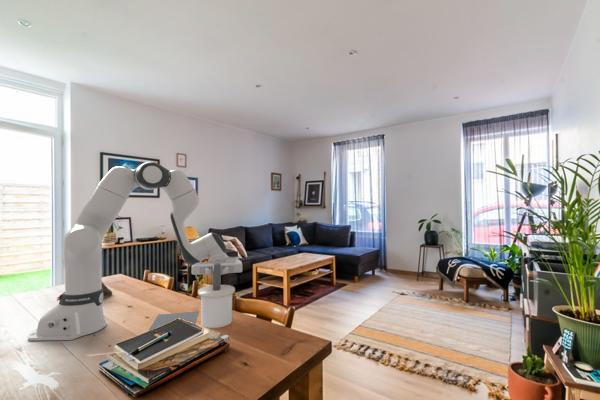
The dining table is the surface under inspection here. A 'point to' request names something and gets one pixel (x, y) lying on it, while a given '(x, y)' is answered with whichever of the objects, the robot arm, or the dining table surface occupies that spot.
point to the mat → (173, 318)
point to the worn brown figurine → (106, 291)
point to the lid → (216, 285)
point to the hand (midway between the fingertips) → (216, 272)
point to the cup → (216, 311)
